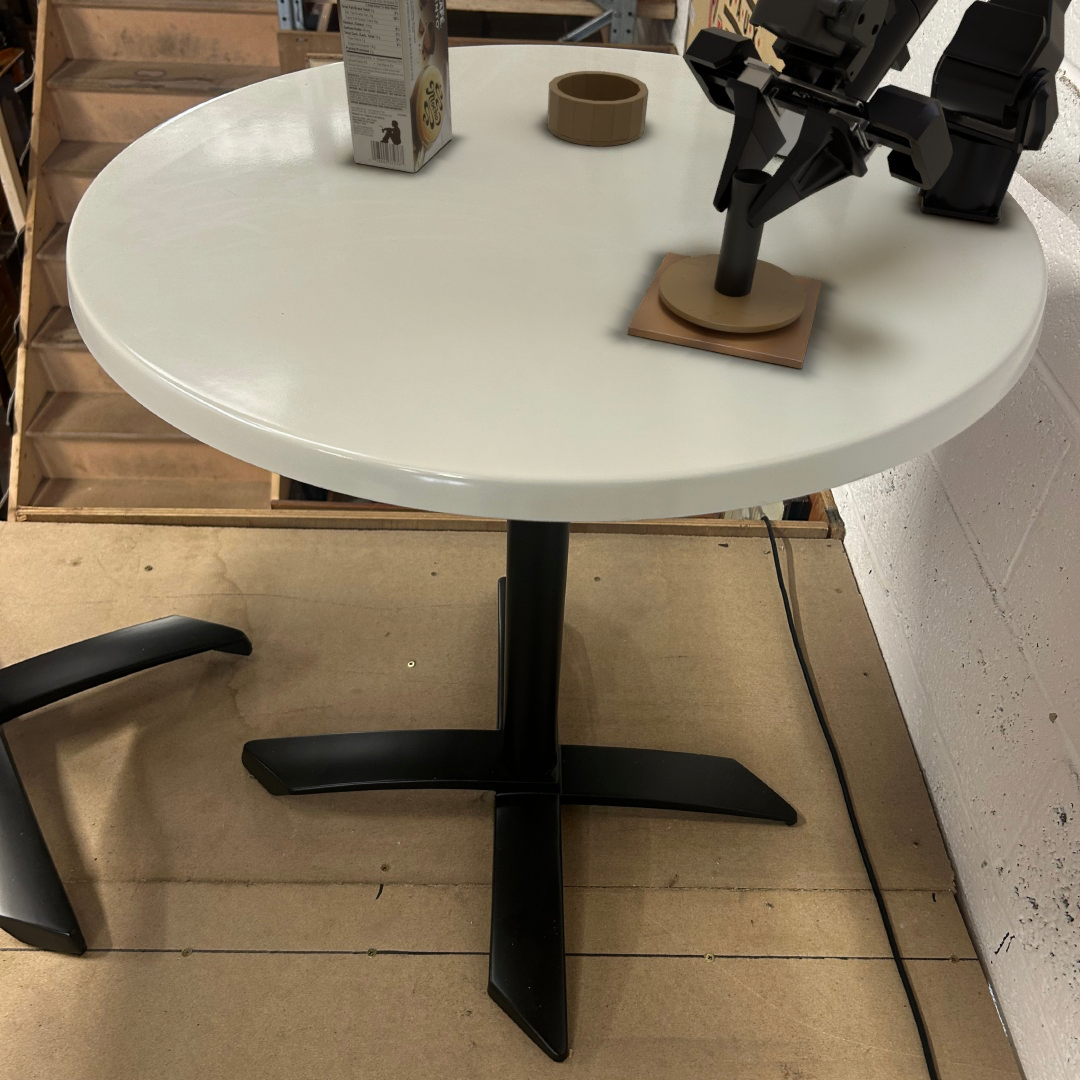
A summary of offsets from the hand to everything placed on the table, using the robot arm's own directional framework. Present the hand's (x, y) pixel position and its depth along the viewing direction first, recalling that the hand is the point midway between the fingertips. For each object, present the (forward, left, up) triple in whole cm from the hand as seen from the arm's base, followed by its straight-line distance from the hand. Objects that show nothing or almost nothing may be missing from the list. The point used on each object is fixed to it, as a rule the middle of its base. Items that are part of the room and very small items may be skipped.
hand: (732, 216), depth 61 cm
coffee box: (+33, -19, -8) cm, 39 cm away
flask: (-1, -35, -8) cm, 36 cm away
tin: (+18, -32, -7) cm, 38 cm away
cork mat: (-1, -1, -7) cm, 7 cm away
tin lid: (-1, -1, -6) cm, 6 cm away
